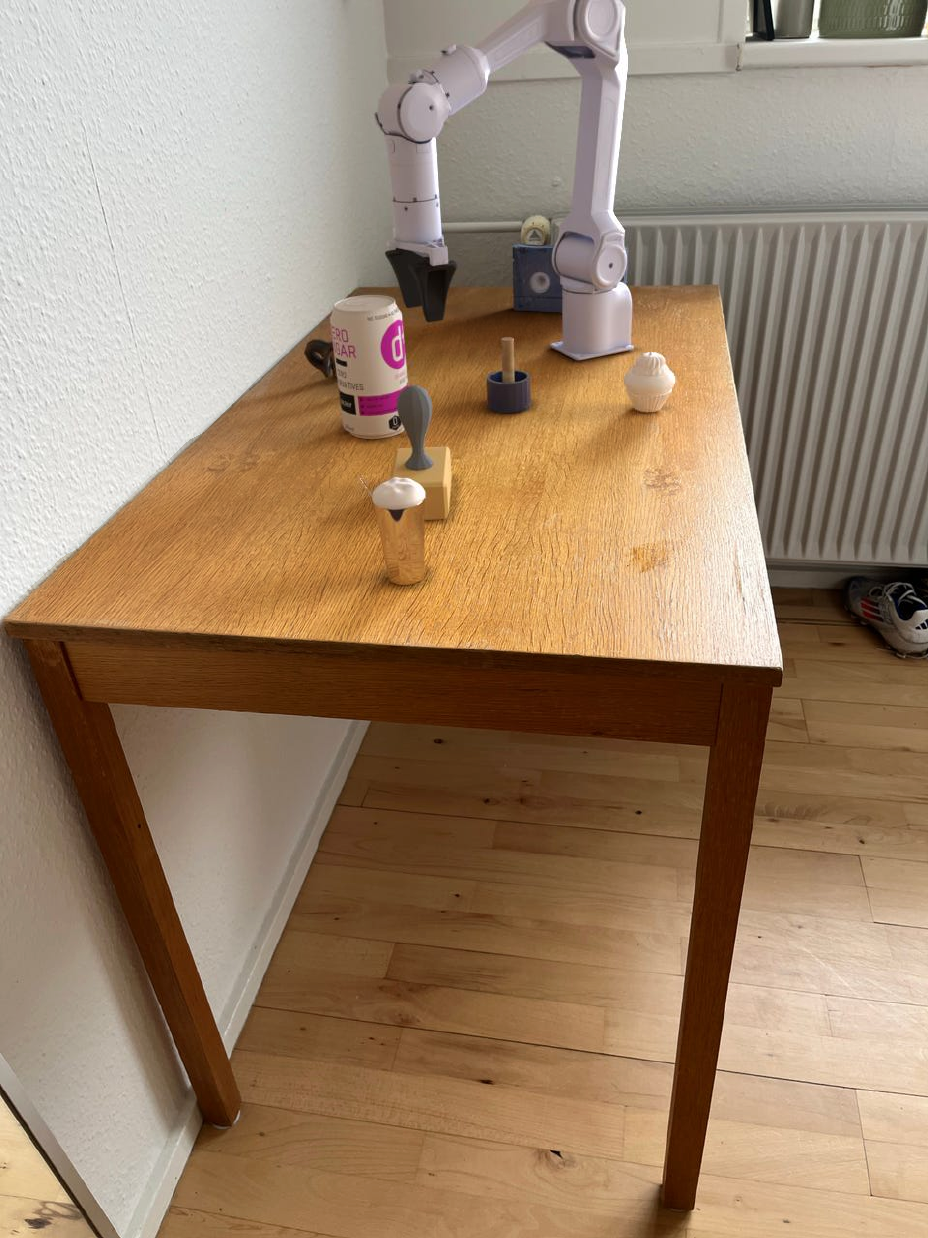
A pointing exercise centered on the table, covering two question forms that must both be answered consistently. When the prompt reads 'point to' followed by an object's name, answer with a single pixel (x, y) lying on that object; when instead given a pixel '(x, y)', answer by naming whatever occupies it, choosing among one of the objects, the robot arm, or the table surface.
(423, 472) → the rubber stamp
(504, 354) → the beige capped rod
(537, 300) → the vhs cassette tape
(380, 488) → the milkshake
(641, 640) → the table surface
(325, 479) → the table surface
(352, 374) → the supplement can
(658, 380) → the muffin
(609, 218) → the robot arm
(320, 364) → the pottery mug
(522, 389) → the cup
